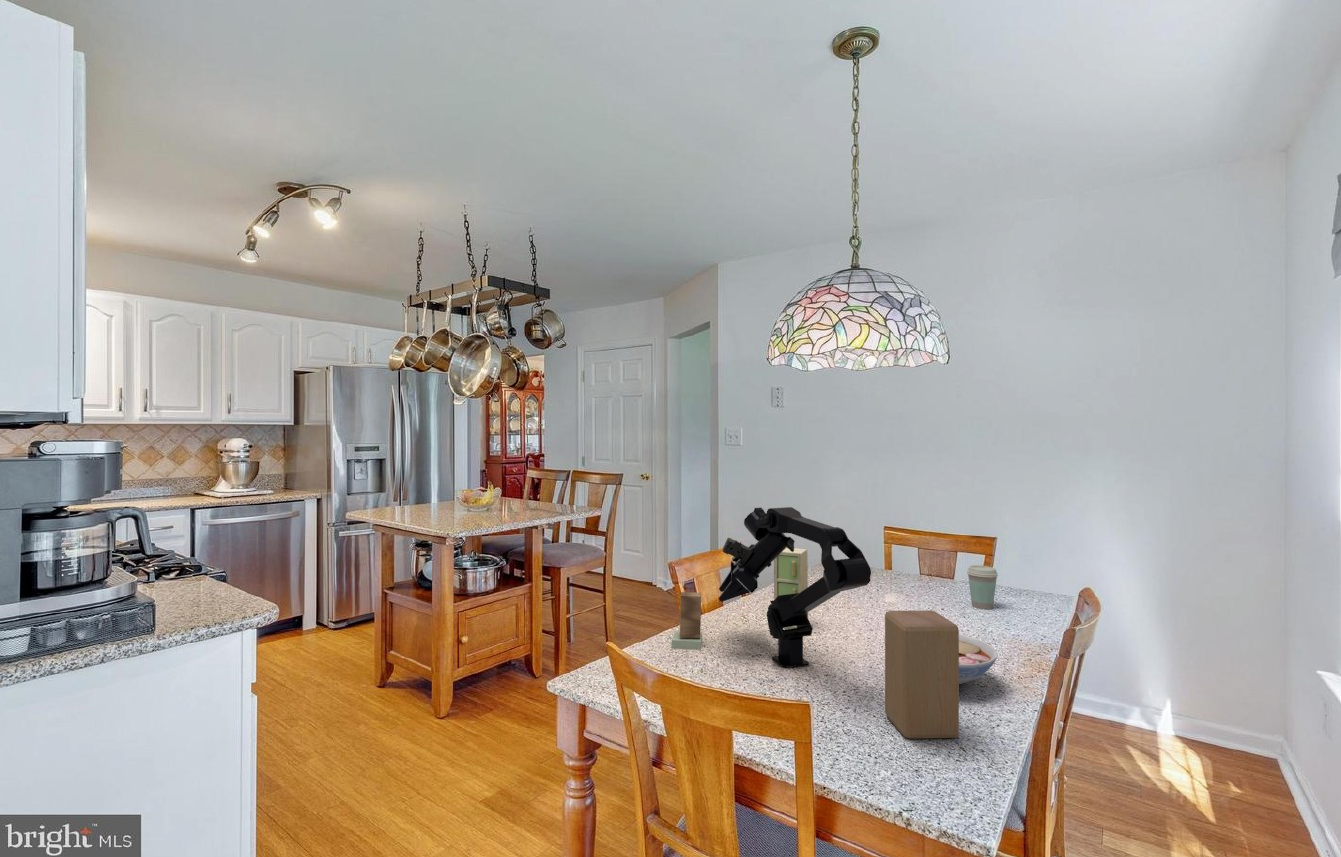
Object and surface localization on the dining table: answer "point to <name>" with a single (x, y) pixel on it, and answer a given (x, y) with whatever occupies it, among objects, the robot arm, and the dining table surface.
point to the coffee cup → (982, 586)
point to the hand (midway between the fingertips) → (720, 595)
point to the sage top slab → (686, 642)
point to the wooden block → (922, 674)
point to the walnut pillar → (690, 615)
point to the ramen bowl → (974, 658)
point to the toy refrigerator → (790, 573)
